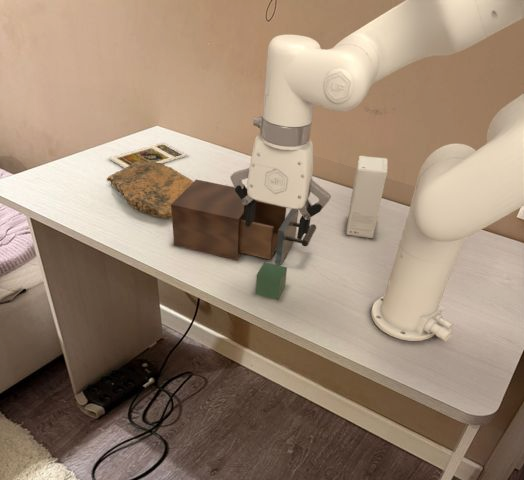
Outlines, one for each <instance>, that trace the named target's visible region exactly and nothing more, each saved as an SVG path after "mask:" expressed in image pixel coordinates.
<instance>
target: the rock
mask: <svg viewBox="0 0 524 480" xmlns="http://www.w3.org/2000/svg"><path fill="white" fill-rule="evenodd" d="M106 181H107V182H110V184H111V185H112V186H113V187H114V188H116V189H117V190H118V191H119V192H120V193H121V194H123V195H124V199H125V200H126V202H127V203H128V204H129V205H130V207H132V208H133V209H134V210H136V211H138V212H142V213H144V214H147V215H152V216H154V217H158V218H160V219H169V218H172V212H171V204H172V203H173V202H174V201H175V200H176V199H177V198H178V197H179V196H180V195H181V194H182V193H183V192H184V191H185V190H186V189H187V188H188V187H189V186H190V185H191V184H192V183H193V182H194V181H193V180H192V179H191V178H189V177H187V176H185V175H184V174H182V173H180V172H178V171H177V170H175V169H174V168H172V167H171V166H167V165H165V164H164V163H157V162H147V161H146V162H145V161H136V162H134V163H133V164H131V165H130V166H128V167H126V168H123V169H120V170H118V171H116V172H114V173H113V174H110V175H109V176H108V177H106Z"/></svg>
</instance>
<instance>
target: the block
mask: <svg viewBox="0 0 524 480" xmlns="http://www.w3.org/2000/svg"><path fill="white" fill-rule="evenodd" d="M287 270H288V267H287V266H284V265H278V264H275V263H271V262H266V261H264V262H263V264H262V265H261V267H260V269H259V271H258V272H257V274H256V282H255V283H256V284H255V295H258V296H262V297H265V298H270V299H274V300H279V299H280V297H281V295H282V293H283V291H284V289H285V287H286V280H287V273H288V271H287Z"/></svg>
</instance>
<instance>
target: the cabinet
mask: <svg viewBox="0 0 524 480" xmlns="http://www.w3.org/2000/svg"><path fill="white" fill-rule="evenodd" d="M171 212H172V217H171V223H172V235H173V246H176V247H178V248H182V249H188V250H190V251H195V252H199V253H204V254H208V255H209V254H210V255H212V256H217V257H220V258H224V259H225V258H226V259H229V260H233V261H234V260H235V261H239V259H240V258H241V256H242V254H243V253H240V252H239V231H240V220H241V219H242V217H243V216H244V205H243V204H242V200H241V198H240V197H239V196H238V194H237V193H236V192H235V187H234V186H231V185H230V186H229V185H227V184H220V183H216V182H211V181H207V180H202V179H201V180H200V179H194V181H193V183H192V184H191V185H190V186H189V187H188V188H187V189H186V190H185V191H184V192H183V193H182V194H181V195H180V196H179V197H178V198H177V199H176V200H175V201H174V202H173V203H172V204H171Z"/></svg>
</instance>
